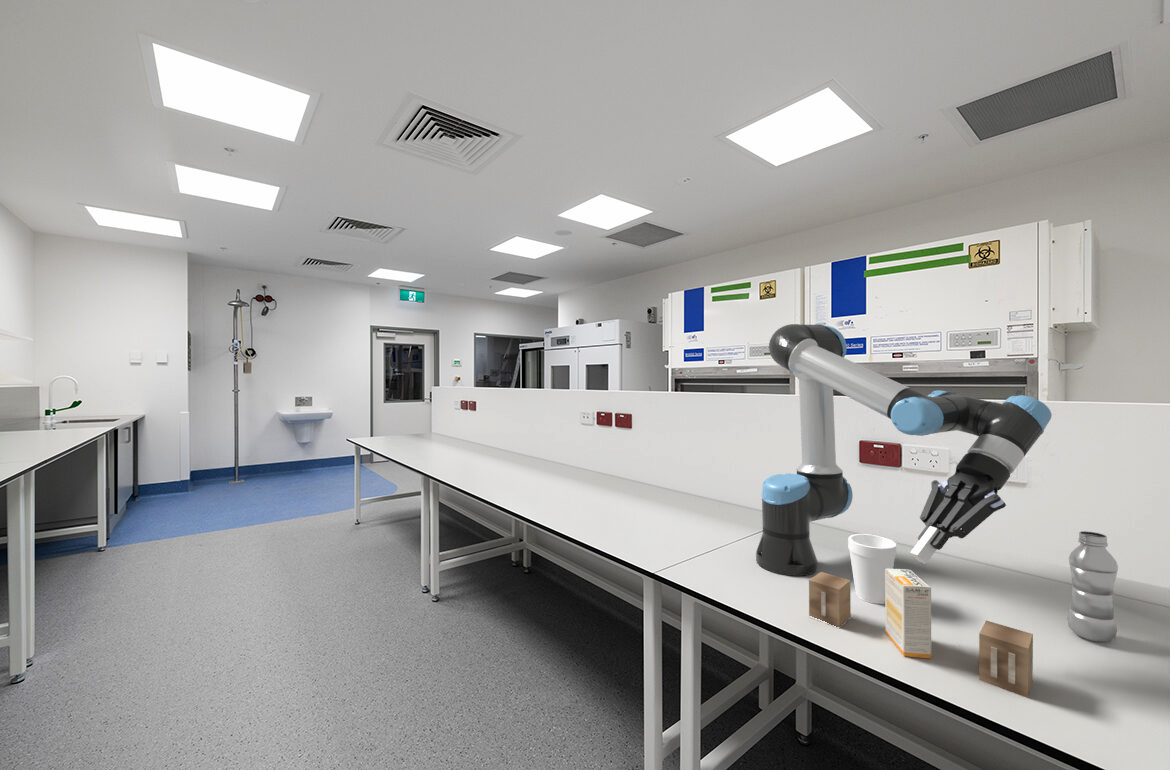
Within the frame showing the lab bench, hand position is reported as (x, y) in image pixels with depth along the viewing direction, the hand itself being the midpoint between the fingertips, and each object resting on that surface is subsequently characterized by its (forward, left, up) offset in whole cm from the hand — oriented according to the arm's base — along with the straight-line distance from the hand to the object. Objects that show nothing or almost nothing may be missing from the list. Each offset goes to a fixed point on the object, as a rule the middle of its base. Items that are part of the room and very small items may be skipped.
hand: (917, 558), depth 89 cm
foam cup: (-12, +15, -17) cm, 26 cm away
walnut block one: (-15, -1, -17) cm, 23 cm away
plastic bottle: (+22, +27, -17) cm, 39 cm away
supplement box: (-1, -1, -17) cm, 17 cm away
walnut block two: (+13, -1, -17) cm, 21 cm away
